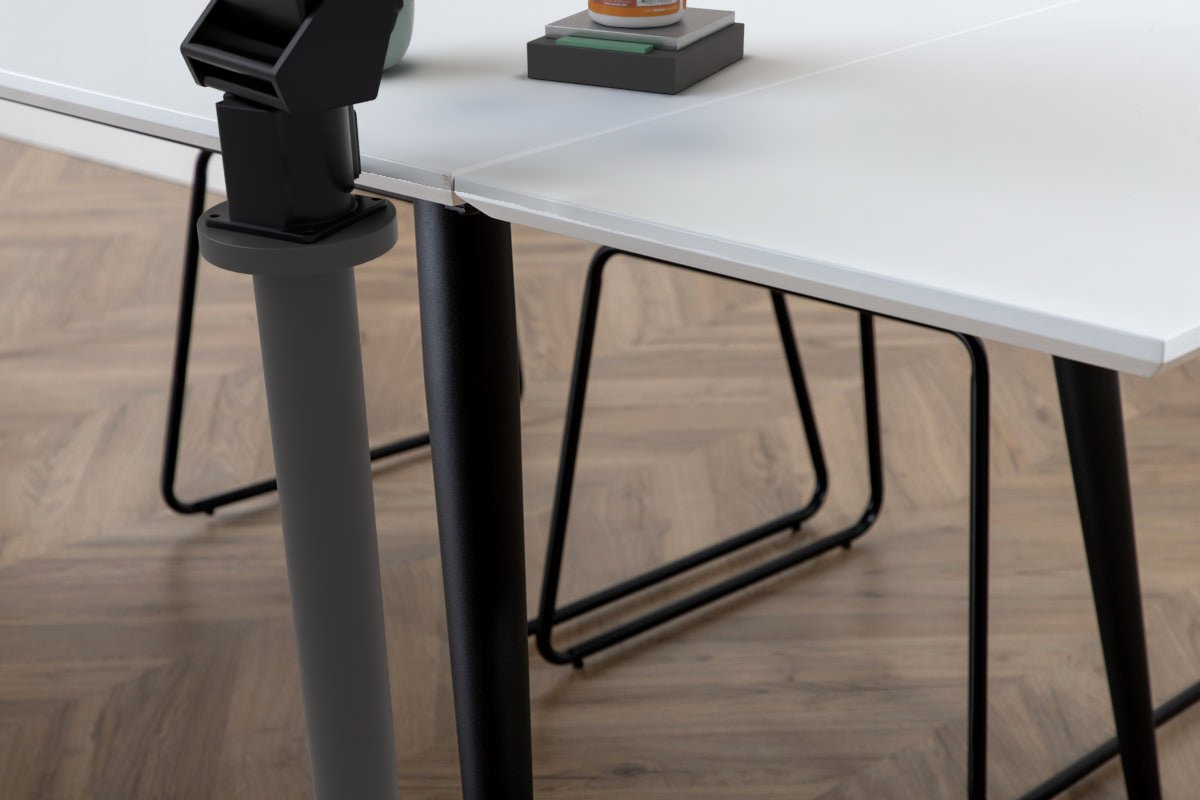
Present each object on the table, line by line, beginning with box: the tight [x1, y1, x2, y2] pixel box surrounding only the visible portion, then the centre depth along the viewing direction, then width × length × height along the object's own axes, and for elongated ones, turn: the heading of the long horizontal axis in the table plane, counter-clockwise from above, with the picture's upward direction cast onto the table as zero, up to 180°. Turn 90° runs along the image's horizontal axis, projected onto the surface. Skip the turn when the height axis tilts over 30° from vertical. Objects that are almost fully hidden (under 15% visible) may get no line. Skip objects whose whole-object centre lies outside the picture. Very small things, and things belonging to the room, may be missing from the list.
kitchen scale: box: [526, 6, 745, 95], centre depth 92 cm, size 11×10×3 cm
